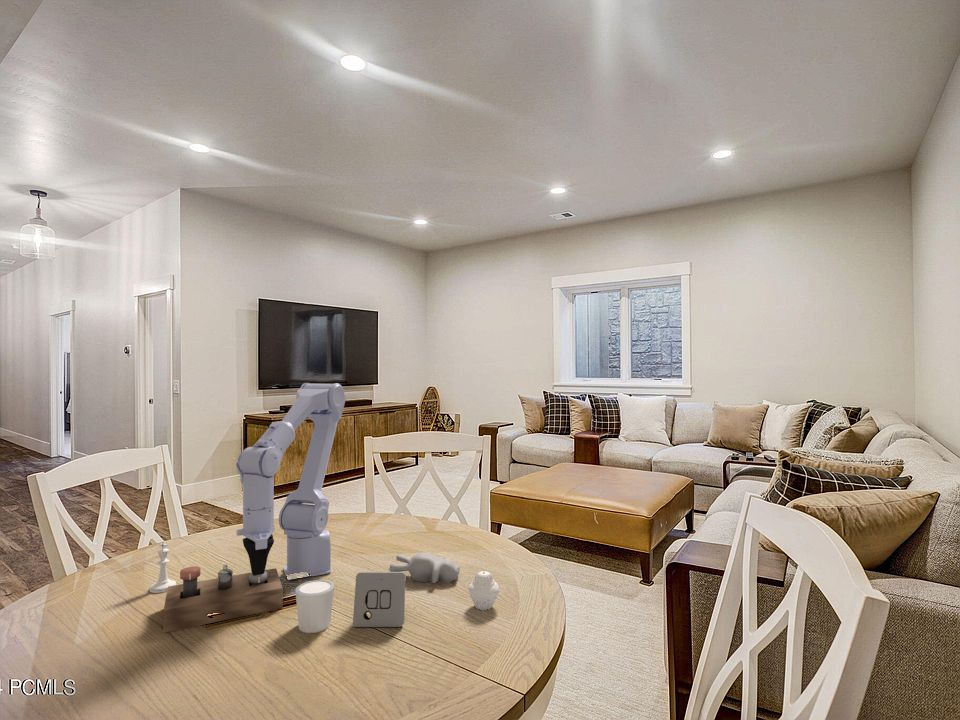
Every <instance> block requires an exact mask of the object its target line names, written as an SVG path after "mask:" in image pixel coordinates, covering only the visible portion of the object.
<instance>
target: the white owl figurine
mask: <svg viewBox="0 0 960 720" xmlns="http://www.w3.org/2000/svg"><path fill="white" fill-rule="evenodd" d="M493 577H494V576H493V574H492V573H491V572H489V571H485V570H484V571H483V570H482V571H478V572H477V573H476V574H475V576H474V579H473V581H472V582H471V583H470V584H468V585H469V586H468V588H467V590H468V593H469V597H470V599H471V601H472V603H473V604H474V607H475V608H476V609H477V610H479V609H480V610H479V611H488V610H491V609H492V608H491V607H494V604H495V602H496V600H497V598H498V594H499V592H500V586H499V585H498V583H497V582H496V581H495V580H494V578H493ZM487 609H488V610H487Z"/></svg>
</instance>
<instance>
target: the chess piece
mask: <svg viewBox="0 0 960 720" xmlns="http://www.w3.org/2000/svg"><path fill="white" fill-rule="evenodd" d="M158 546H159V547H161V549H159V550H158V551H157V554H158V556H159V560H158V561H157V564H158V565H160V569H159V574H158V575H159V576H158V580H156V582H154V583H152V584H151V585H150V587H149V592H150V593H152V594H160V593H162V594H163V593H167V589H168V587H169V586H174V585H177V582H176V580H173V579H170V578H169V577H168V571H167V570H168V569H167V565H166V564H168V563H169V562H170V560H169V559H167V558H168V555H169V554H168V553H169V552H170V549H168V548H167V547H168V546H169V544H168V543H166V541H165V540H162V541H161V543H159V544H158Z"/></svg>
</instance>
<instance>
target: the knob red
mask: <svg viewBox="0 0 960 720" xmlns="http://www.w3.org/2000/svg"><path fill="white" fill-rule="evenodd" d="M200 576H201V567H200V566H189V567H185V568H183V569H181V570H180V571H179V579H180V580H182V584H183V598H188V597H193V596H197V582H198V578H199V577H200Z"/></svg>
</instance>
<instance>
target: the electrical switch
mask: <svg viewBox="0 0 960 720" xmlns="http://www.w3.org/2000/svg"><path fill="white" fill-rule="evenodd" d="M405 572H406V571H402V572H390V571H359V572H358V573H357V574H356V575H355V588H354V603H353V619H352V624H353V627H354V628H355V627H356V628H370V627H371V628H401V627H402V626H404V625H405V614H406V613H405V612H406V611H405V610H406V607H405V603H406V601H405V600H406V599H405V598H406V582H407V574H406V573H405ZM367 613H369V614H370V617H369V616H368V614H367Z"/></svg>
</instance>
